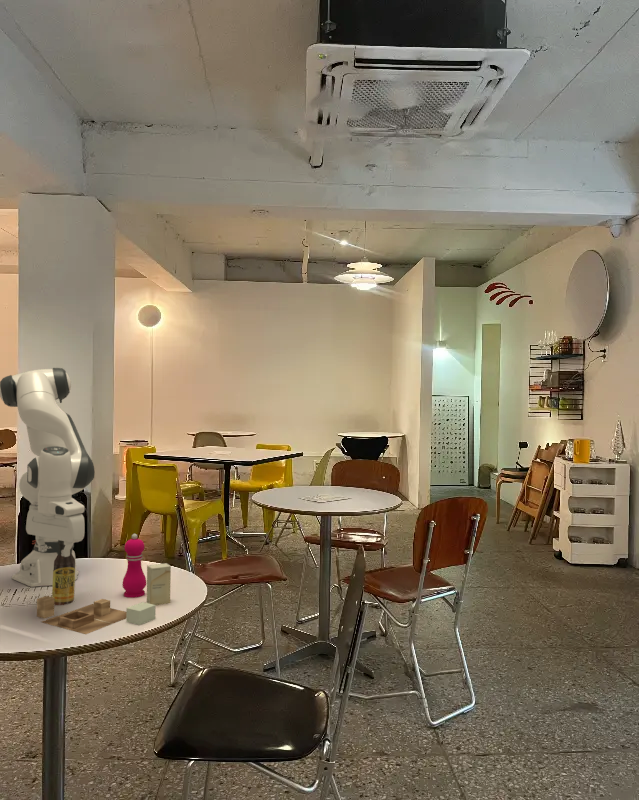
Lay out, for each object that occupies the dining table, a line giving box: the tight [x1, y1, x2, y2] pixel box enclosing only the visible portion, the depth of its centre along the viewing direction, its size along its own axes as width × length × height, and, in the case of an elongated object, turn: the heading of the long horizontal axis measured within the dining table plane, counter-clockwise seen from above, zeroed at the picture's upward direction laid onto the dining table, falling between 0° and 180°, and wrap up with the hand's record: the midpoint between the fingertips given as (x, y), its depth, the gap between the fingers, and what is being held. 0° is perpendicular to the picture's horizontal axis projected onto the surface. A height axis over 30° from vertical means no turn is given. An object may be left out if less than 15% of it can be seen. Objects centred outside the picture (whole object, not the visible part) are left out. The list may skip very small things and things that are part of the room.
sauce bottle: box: [51, 540, 76, 606], centre depth 199 cm, size 6×6×20 cm
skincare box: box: [146, 562, 172, 606], centre depth 199 cm, size 6×4×12 cm
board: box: [41, 598, 126, 635], centre depth 185 cm, size 18×18×4 cm
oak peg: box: [36, 595, 55, 620], centre depth 186 cm, size 3×3×6 cm
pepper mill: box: [121, 533, 147, 599], centre depth 206 cm, size 7×7×20 cm
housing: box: [125, 601, 157, 626], centre depth 183 cm, size 5×6×5 cm
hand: (54, 553), depth 186 cm, fingers open, 8 cm apart
